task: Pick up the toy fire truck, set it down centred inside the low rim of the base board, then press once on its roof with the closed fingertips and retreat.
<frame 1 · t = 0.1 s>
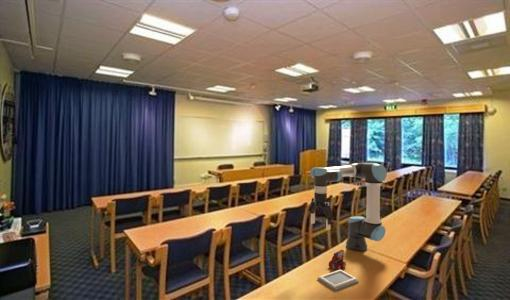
hand: (320, 226, 168), 28 cm above the table, fingers open, 13 cm apart
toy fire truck: (337, 268, 172), on the table
base board: (337, 281, 156), on the table
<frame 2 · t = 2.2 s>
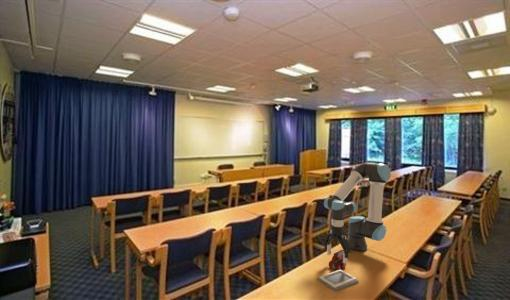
hand: (336, 258, 172), 6 cm above the table, fingers open, 13 cm apart
nothing on the table moved.
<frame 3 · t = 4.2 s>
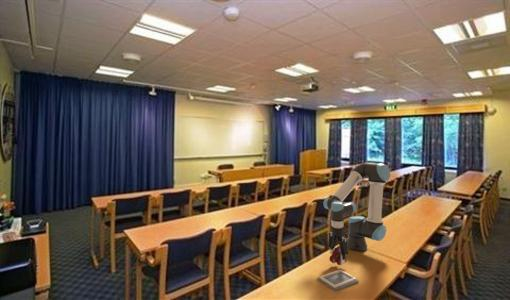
hand: (337, 261, 173), 4 cm above the table, fingers closed on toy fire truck, 7 cm apart
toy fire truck: (338, 262, 173), point 3 cm above the table, touching gripper
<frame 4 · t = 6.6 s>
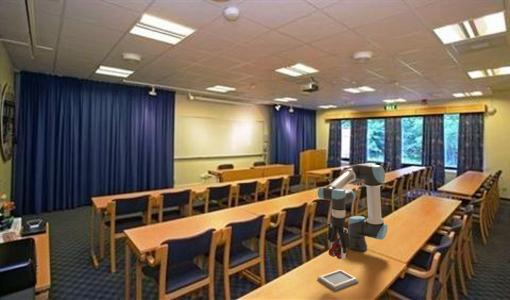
hand: (337, 255, 155), 15 cm above the table, fingers closed on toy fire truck, 7 cm apart
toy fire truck: (338, 256, 155), point 14 cm above the table, touching gripper
when the fingers open (3 cm above the table, at t = 9.1 s): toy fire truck stays where it is, resting on base board.
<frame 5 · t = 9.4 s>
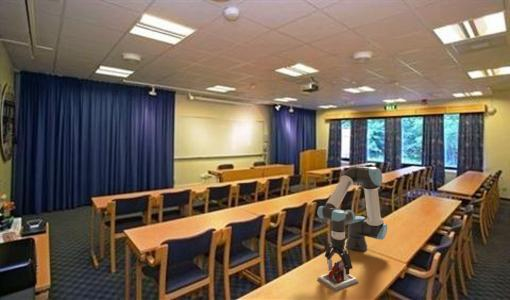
hand: (337, 274, 156), 4 cm above the table, fingers open, 11 cm apart
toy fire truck: (337, 279, 156), point 1 cm above the table, touching base board
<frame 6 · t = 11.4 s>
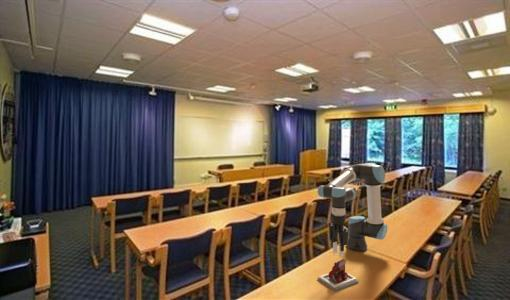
hand: (337, 254, 155), 16 cm above the table, fingers open, 4 cm apart
nothing on the table moved.
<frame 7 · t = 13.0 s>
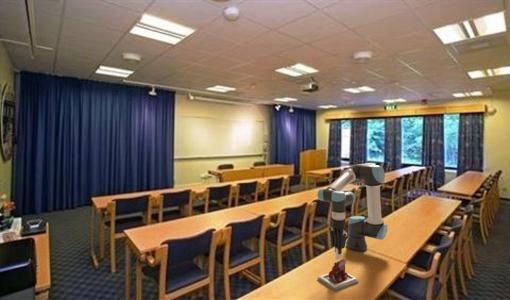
hand: (338, 258, 156), 13 cm above the table, fingers closed
nothing on the table moved.
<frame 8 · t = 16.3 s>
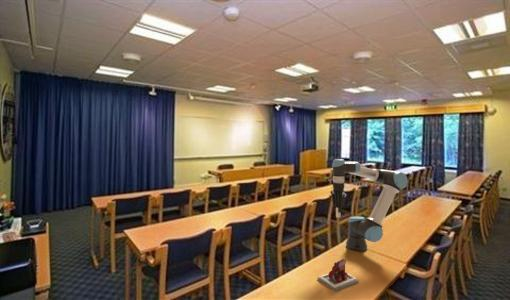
hand: (338, 216, 182), 29 cm above the table, fingers closed
nothing on the table moved.
at the end: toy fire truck inside the target area on the base board (0.1 cm from its centre), point 1.0 cm above the base board's base; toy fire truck tilted 0°; the gripper is holding nothing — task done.
